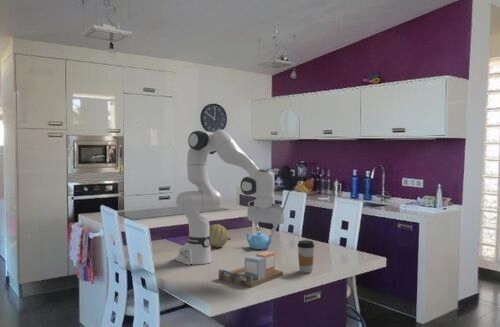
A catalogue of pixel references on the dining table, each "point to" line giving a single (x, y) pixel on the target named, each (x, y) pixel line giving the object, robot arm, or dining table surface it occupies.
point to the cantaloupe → (217, 235)
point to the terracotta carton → (268, 261)
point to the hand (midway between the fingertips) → (265, 231)
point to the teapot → (259, 241)
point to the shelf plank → (246, 277)
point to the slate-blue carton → (255, 267)
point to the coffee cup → (305, 256)
